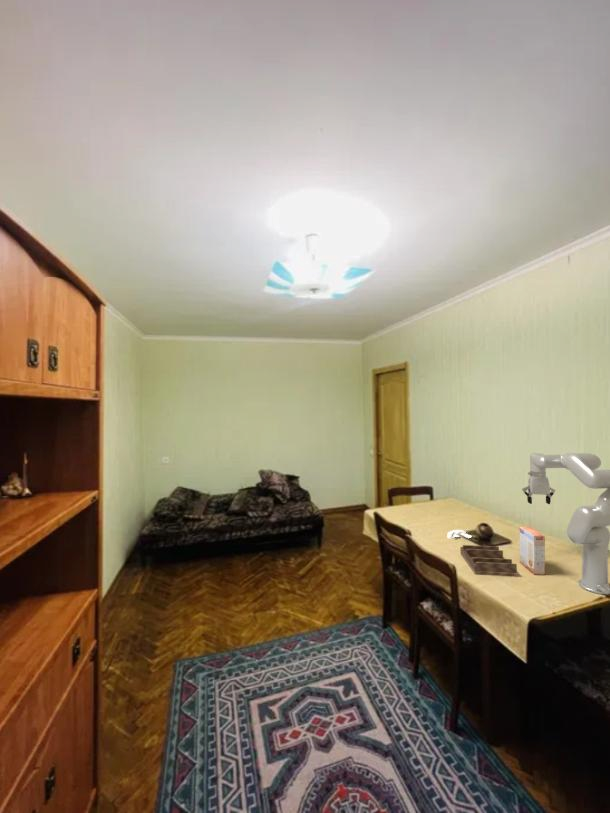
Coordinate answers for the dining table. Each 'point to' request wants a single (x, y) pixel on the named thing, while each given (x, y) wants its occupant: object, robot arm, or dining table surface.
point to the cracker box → (532, 550)
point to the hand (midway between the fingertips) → (538, 503)
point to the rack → (488, 561)
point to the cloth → (454, 532)
